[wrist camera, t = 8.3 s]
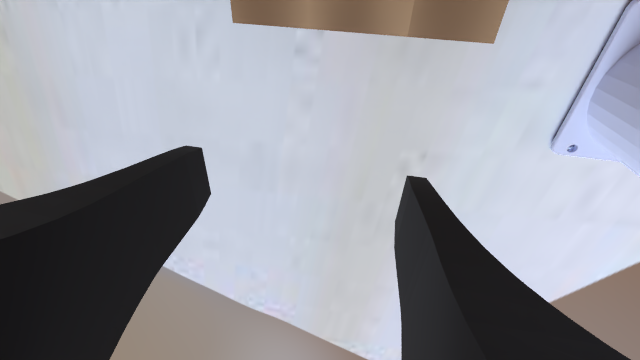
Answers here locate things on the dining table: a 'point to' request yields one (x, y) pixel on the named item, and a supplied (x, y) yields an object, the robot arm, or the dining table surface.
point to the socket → (381, 17)
